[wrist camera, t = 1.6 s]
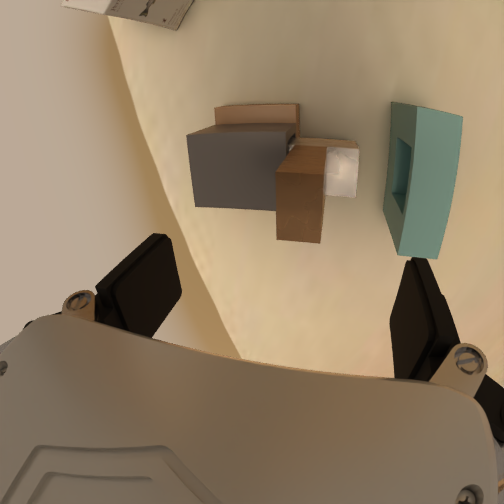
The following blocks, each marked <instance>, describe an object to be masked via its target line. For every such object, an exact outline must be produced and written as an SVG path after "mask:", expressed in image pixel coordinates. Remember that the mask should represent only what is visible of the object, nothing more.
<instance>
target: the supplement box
mask: <svg viewBox="0 0 504 504" xmlns="http://www.w3.org/2000/svg"><path fill="white" fill-rule="evenodd" d="M192 2H193V0H63V1H62V3H61V7H67V8H72V9H78V10H82V11H87V12H93V13H98V14H103V15H109V16H115V17H120V18H126V19H131V20H135V21H140V22H145V23H149V24H153V25H158V26H162V27H165V28H169V29H172V30H177V28H178V26H179V24H180V22H181V20H182V18H183V17H184V15H185V13H186V11H187V10H188V8H189V6H190V5H191V3H192Z"/></svg>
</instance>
